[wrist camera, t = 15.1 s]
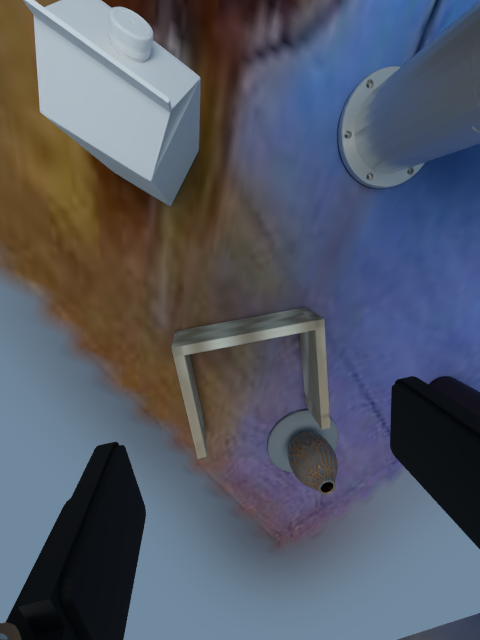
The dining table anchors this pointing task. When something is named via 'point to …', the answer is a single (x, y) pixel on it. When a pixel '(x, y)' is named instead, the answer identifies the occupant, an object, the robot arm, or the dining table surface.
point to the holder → (248, 332)
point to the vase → (313, 461)
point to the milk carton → (118, 92)
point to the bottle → (459, 393)
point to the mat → (292, 427)
